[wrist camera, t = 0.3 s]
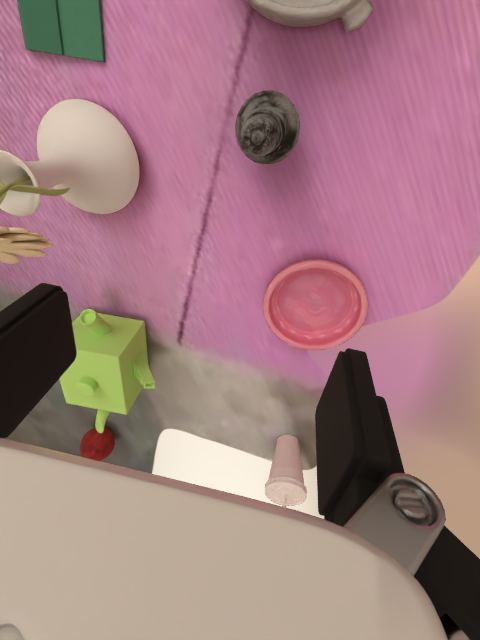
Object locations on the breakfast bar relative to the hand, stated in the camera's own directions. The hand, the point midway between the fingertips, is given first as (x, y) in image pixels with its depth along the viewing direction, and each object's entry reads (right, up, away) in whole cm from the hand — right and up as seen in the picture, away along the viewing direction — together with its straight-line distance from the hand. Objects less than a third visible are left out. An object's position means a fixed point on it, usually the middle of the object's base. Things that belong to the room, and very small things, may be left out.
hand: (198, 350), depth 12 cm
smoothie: (+10, -20, +48) cm, 53 cm away
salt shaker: (+5, +20, +22) cm, 31 cm away
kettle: (-17, -2, +41) cm, 45 cm away
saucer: (+11, +4, +32) cm, 34 cm away
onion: (-24, -20, +55) cm, 63 cm away
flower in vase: (-14, +19, +27) cm, 36 cm away
